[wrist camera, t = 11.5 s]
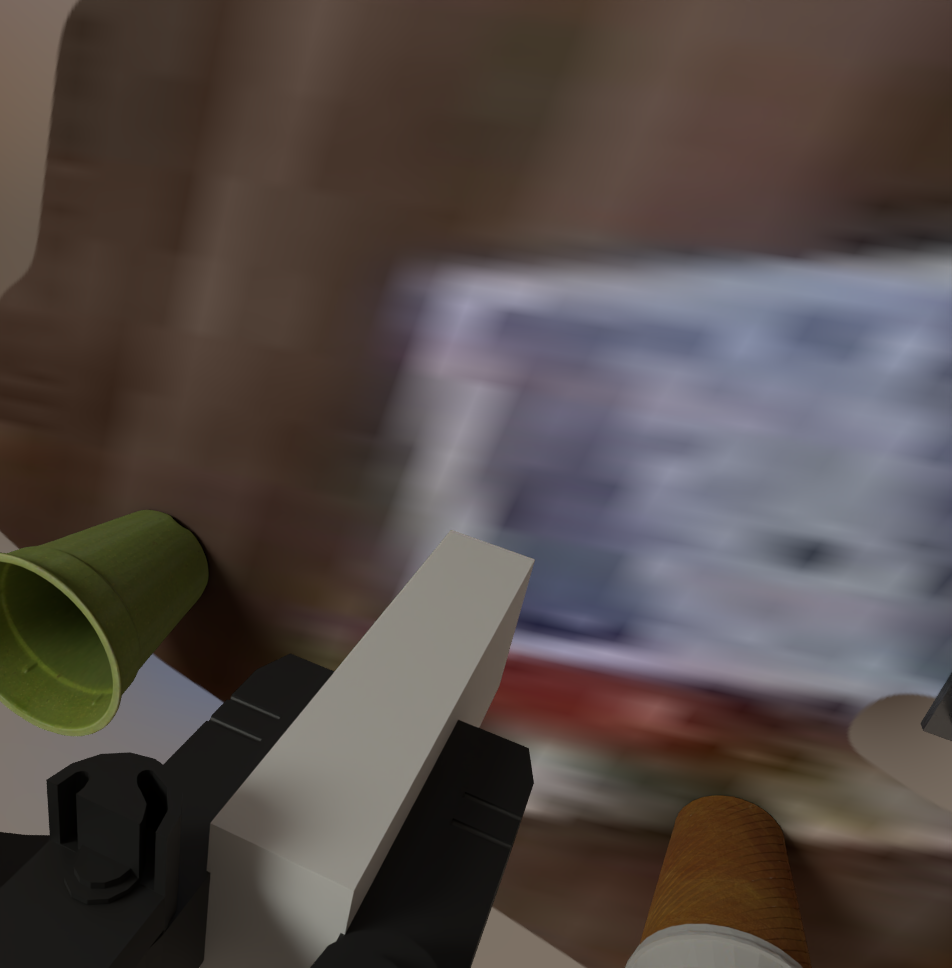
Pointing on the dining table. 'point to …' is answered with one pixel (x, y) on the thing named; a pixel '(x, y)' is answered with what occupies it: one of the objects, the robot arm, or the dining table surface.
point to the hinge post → (940, 713)
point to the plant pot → (91, 616)
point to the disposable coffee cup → (724, 894)
